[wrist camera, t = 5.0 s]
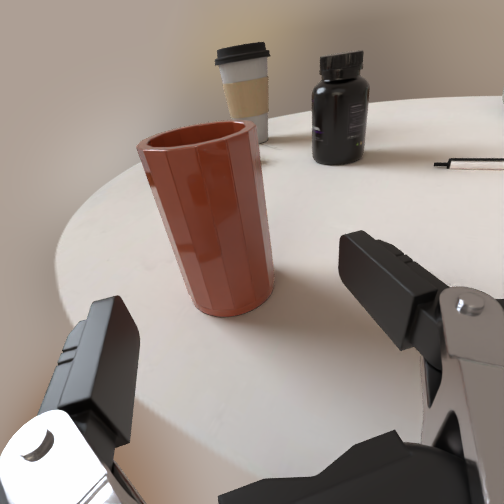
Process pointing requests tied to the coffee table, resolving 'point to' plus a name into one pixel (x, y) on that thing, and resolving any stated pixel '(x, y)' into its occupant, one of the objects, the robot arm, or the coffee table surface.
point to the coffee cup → (246, 84)
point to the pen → (474, 163)
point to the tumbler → (214, 212)
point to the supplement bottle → (340, 109)
